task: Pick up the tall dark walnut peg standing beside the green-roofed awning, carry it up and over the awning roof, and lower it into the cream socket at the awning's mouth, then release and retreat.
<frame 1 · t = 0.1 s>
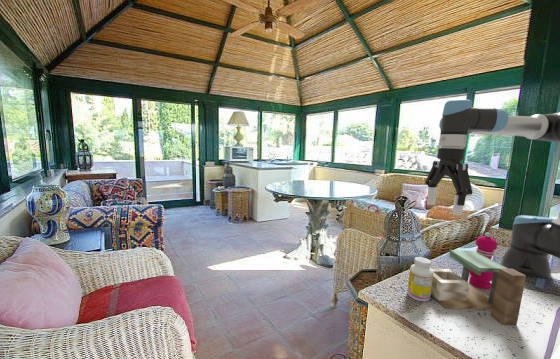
hand: (442, 209, 88), 28 cm above the counter, fingers open, 13 cm apart
pepper mill: (479, 285, 93), on the counter
awning station: (456, 295, 85), on the counter
walnut peg: (503, 320, 74), on the counter
supplement bottle: (418, 296, 84), on the counter
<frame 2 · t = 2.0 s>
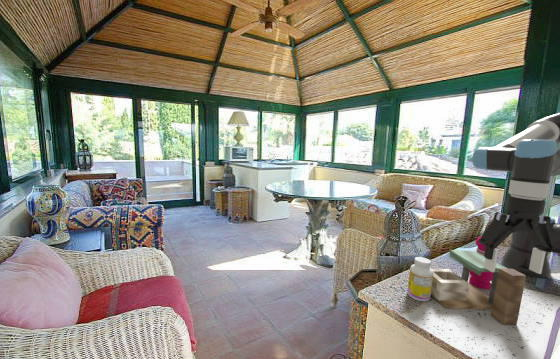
hand: (512, 270, 71), 15 cm above the counter, fingers open, 13 cm apart
nothing on the counter moved.
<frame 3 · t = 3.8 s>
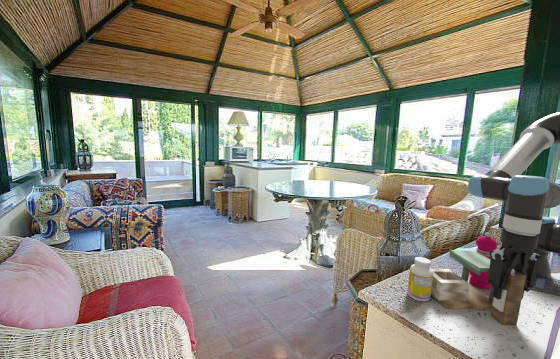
hand: (505, 308, 73), 4 cm above the counter, fingers closed on walnut peg, 4 cm apart
walnut peg: (503, 320, 74), on the counter, touching gripper
everything else where it was.
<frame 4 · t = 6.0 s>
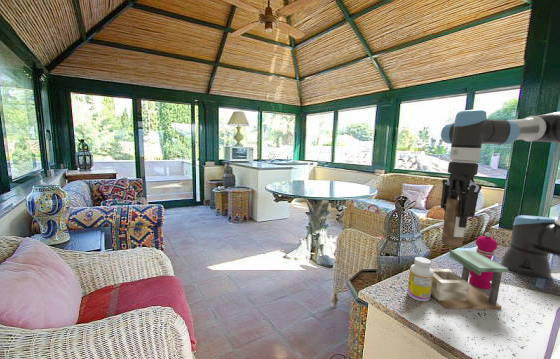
hand: (452, 233, 82), 22 cm above the counter, fingers closed on walnut peg, 4 cm apart
walnut peg: (451, 244, 82), point 18 cm above the counter, touching gripper
everything else where it was.
when the fingers open (8 cm above the counter, at t = 8.1 s): walnut peg drops 4 cm, resting on awning station.
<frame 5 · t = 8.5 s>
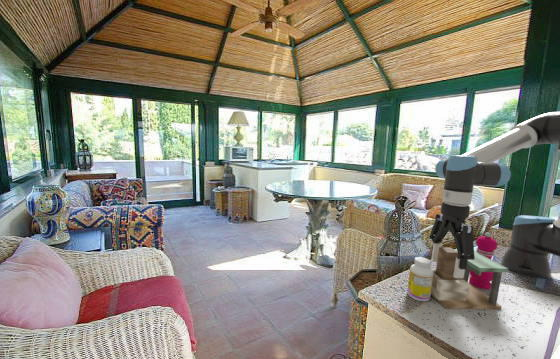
hand: (446, 268, 84), 9 cm above the counter, fingers open, 10 cm apart
walnut peg: (442, 292, 85), point 1 cm above the counter, touching awning station
everything else where it was.
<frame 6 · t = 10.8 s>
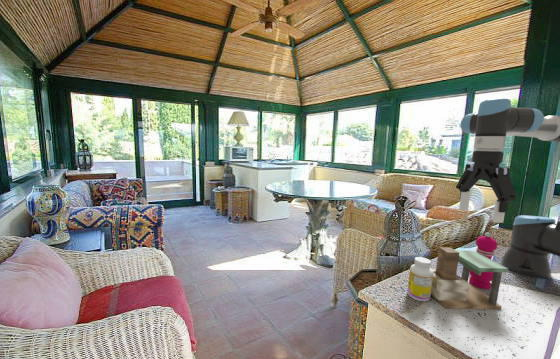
hand: (479, 215, 82), 28 cm above the counter, fingers open, 13 cm apart
nothing on the counter moved.
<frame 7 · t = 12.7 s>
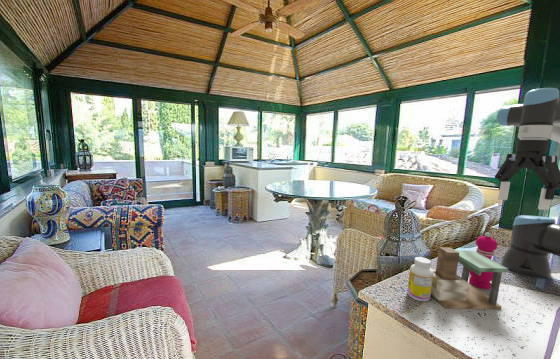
hand: (521, 204, 84), 32 cm above the counter, fingers open, 13 cm apart
nothing on the counter moved.
at the end: walnut peg 0.0 cm from the target spot on the awning station, point 1.0 cm above the awning station's base; walnut peg tilted 0°; the gripper is holding nothing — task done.
